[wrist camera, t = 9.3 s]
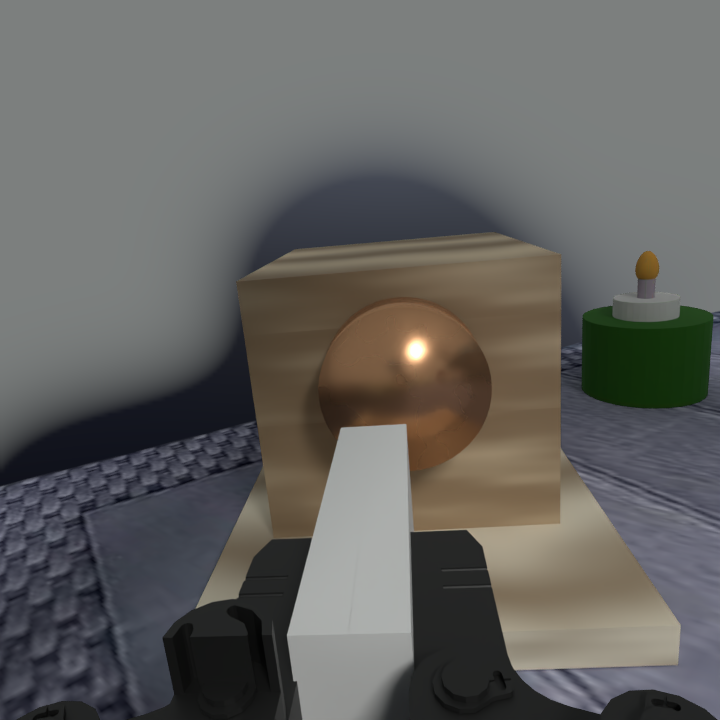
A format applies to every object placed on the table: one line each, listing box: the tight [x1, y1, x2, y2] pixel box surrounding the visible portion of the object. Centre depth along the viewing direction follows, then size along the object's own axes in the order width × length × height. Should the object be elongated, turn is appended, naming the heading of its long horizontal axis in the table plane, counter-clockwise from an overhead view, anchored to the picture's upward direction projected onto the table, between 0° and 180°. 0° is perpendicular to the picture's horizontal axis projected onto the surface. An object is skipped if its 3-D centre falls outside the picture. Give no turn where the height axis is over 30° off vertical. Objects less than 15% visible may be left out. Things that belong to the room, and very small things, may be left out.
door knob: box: [318, 297, 492, 471], centre depth 28 cm, size 16×6×6 cm, turn 177°
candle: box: [582, 251, 713, 409], centre depth 41 cm, size 8×8×10 cm
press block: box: [196, 232, 681, 670], centre depth 27 cm, size 21×16×12 cm
